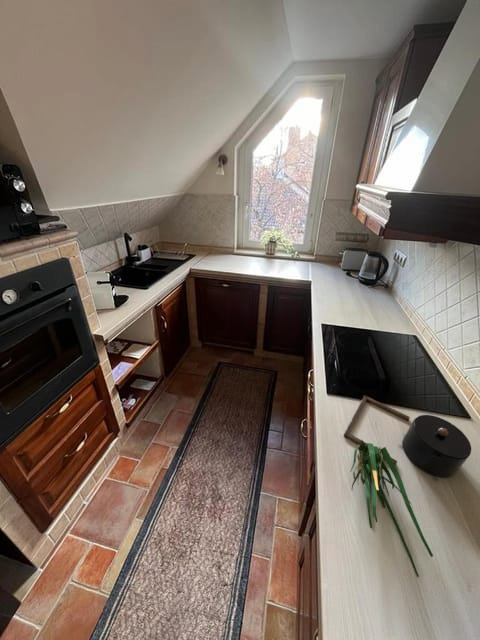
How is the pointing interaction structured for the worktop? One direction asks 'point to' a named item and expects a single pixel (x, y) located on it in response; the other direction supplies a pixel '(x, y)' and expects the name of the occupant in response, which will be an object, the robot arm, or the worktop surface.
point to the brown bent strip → (365, 398)
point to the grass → (373, 473)
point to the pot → (436, 446)
